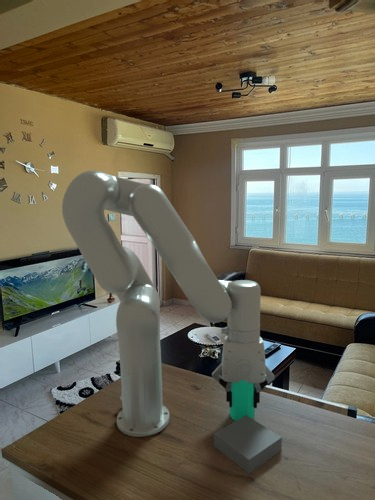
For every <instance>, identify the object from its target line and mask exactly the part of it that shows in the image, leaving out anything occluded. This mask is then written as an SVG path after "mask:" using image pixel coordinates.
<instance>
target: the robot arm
mask: <svg viewBox="0 0 375 500" xmlns="http://www.w3.org/2000/svg"><path fill="white" fill-rule="evenodd" d="M61 205H62V206H61V209H62V210H61V211H62V219H63V222H64V223H65V227H66V229H67V231H68V233H69V234H70V236H71V238H72V240H73V241H74V243H75V244H76V246H77V249H79V252H80V254H81V256H82V258H83V259H84V261H85V262H86V264H87V267H88V268H89V269H90V271H91V273H92V275H93V276H94V278H95V281H96V282H97V284H98V285H99V286H100V288H101V289H102V290H103V291H105V292H106V293H109V294H115V295H116V296H117V298H118V300H119V301H120V302H119V304H118V307H117V311H116V319H115V322H116V323H115V325H116V326H115V327H116V333H117V341H118V350H119V352H118V353H119V364H120V365H119V367H120V381H121V395H120V396H119V399H120V400H121V403H122V409H121V410H120V411H118V414H117V417H116V426H117V428H118V430H119V431H120V432H121V433H122V434H124V435H127V436H130V437H135V438H136V437H138V438H139V437H140V438H142V437H149V436H153V435H155V434H158V433H159V432H161V431H163V430H164V429H165V428H166V427H167V426H168V424H169V422H170V418H171V417H170V411H169V409H168V407H166V406H165V405H163V402H164V401H163V379H162V376H163V375H162V374H163V373H162V354H161V353H162V352H161V333H160V332H161V330H160V328H161V325H160V324H161V323H160V322H161V321H160V320H161V319H160V318H161V317H160V316H161V313H160V312H161V300H160V299H161V298H160V295H159V293H158V290H157V289H156V286H155V285H154V283H153V281H152V280H151V278H150V275H149V274H148V272H147V270H146V269H145V266H144V265H143V263H142V262H141V260H140V258H139V256H138V255H137V254H136V253H135V252H134V251H133V250H132V249H130V248H128V247H126V246H123V245H122V243H121V242H120V240H119V239H118V237H117V234H116V232H115V231H114V229H113V228H112V226H111V225H110V223H109V222H108V219H107V217H106V216H105V211H109V212H114V213H117V214H121V215H124V216H125V215H126V216H129V217H133V218H134V220H135V221H136V222H137V224H138V226H139V227H140V229H141V230H142V231H143V233H144V234H145V236H146V237H147V238H148V240H149V242H150V243H151V244H152V245H153V248H154V249H155V250H156V252H157V254H158V255H159V257H160V258H161V259H162V261H163V263H164V264H165V266H166V268H167V269H168V271H169V272H170V274H171V275H172V276H173V277H174V279H175V281H176V282H177V284H178V286H179V287H180V289H181V290H182V292H183V294H184V295H185V297H186V298H187V299H188V301H189V302H190V304H191V305H192V307H193V308H194V310H195V311H196V312H197V314H198V315H199V316H200V318H202V319H203V320H204V321H206V322H208V323H214V324H216V323H217V324H218V323H220V322H223V321H225V320H227V326H225V327H221V334H222V335H223V334H224V335H226V336H224V341H223V345H222V353H221V354H222V355H221V363H220V364H219V365H218V366H217V367H216V368H215V370H214V371H212V373H211V377H212V378H213V379H214V380H215V381H216V382H218V384H220V385H221V386H222V387H223V389H225V392H226V393H225V394H226V395H225V397H226V400H225V401H226V402H227V403H229V404H228V406H229V408H230V407H232V392H231V387H232V383H238V382H240V380H246V382H247V383H254V385H255V391H254V407H255V409H258V404H260V402H261V401H260V400H261V395H260V394H261V392H262V390H263V389H264V388H266V387H267V386H268V384H269V383H271V382H273V381H274V380H275V377H276V376H275V374H274V373H273V372H272V371H271V369H270V368H269V367H268V366H267V365H266V351H265V345H264V343H265V342H264V340H263V338H262V337H261V293H262V291H261V286H260V284H259V283H258V282H257V281H254V280H249V279H244V280H243V279H240V280H239V279H238V280H237V279H236V280H221V279H218V278H217V276H216V274H215V273H214V271H213V270H212V268H211V267H210V265H209V263H208V262H207V260H206V259H205V257H204V255H203V253H202V251H201V249H200V247H199V245H198V243H197V241H196V240H195V239H196V238H194V236H193V234H192V233H191V232H190V230H189V229H188V227H187V225H186V224H185V222H183V219H182V218H181V217H180V215H179V214H178V211H176V209H175V207H174V206H173V205H172V203H171V201H170V200H169V199H168V197H167V195H166V194H165V193H164V191H163V190H162V188H160V187H159V186H158V185H155V184H152V183H143V182H139V181H136V180H131V179H127V178H123V177H120V176H116V175H113V174H108V173H105V172H103V171H99V170H87V171H83V172H80V173H79V174H78V175H76V176H75V177H74V178H73V179H72V180H71V182H70V183H69V185H68V186H67V188H66V190H65V192H64V195H63V197H62V203H61Z"/></svg>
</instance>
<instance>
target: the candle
mask: <svg viewBox="0 0 375 500" xmlns="http://www.w3.org/2000/svg"><path fill="white" fill-rule="evenodd" d="M254 391H255V385H254V383H247V382H246V380H240V382H238V383H232V387H231V392H232V407H229V417H230V418H231V419H232V420H233V421H234V422H235V421H237V420H238V419H240V418H242V417H244V416H245V415H247V416H248V417H250V418H252V419H253V420H254V418H255V412H256V411H255V409H256V408H255V407H254Z"/></svg>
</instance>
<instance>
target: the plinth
mask: <svg viewBox="0 0 375 500" xmlns="http://www.w3.org/2000/svg"><path fill="white" fill-rule="evenodd" d="M282 442H283V437H282V436H280V435H279V434H277V433H275V432H274V431H272V430H271V429H270V428H267V427H266V426H264V425H262V424H261V423H259V422H258V421H256V420H255V419H254V418H253V419H252V418H250V417H248V416H247V415H245V416H244V417H242V418H240V419H238V420H237V421H235V420H234V421H233V422H231V423H230V424H228V425H226V426H225V427H223V428H221V429H219V430H217V431H216V432H214V433H213V447H214V448H216V449H217V450H218V451H219V452H221V453H222V454H223V455H225V456H226V457H227V458H229V459H230V460H231V461H232V462H233V463H235V464H236V465H237V466H238V467H240V468H241V469H243V470H244V472H246V473H247V474H250V473H253V471H255V470H257V469H258V468H259V467H260V466H262V465H263V464H264V463H266V462H268V461H269V460H270V459H272V458H273V457H275V456H276V455H277V454H279V453H280V452H282V450H283V449H282V448H283V447H282V445H283V443H282Z"/></svg>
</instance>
